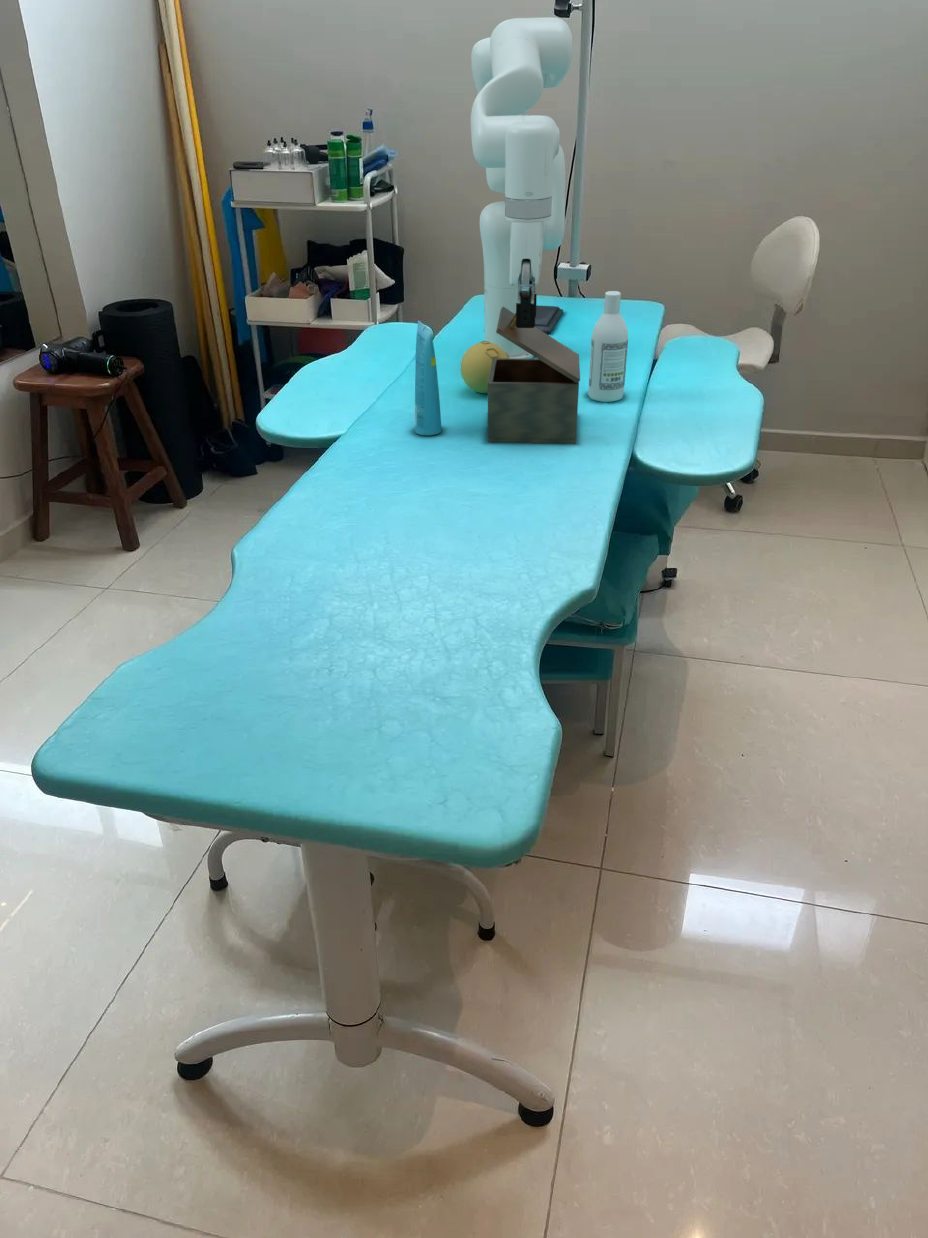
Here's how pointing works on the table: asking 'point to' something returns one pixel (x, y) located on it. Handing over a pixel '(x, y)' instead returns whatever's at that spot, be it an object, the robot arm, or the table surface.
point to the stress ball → (479, 364)
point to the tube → (426, 385)
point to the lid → (539, 345)
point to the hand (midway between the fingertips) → (526, 321)
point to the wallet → (547, 317)
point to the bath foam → (608, 352)
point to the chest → (530, 403)
